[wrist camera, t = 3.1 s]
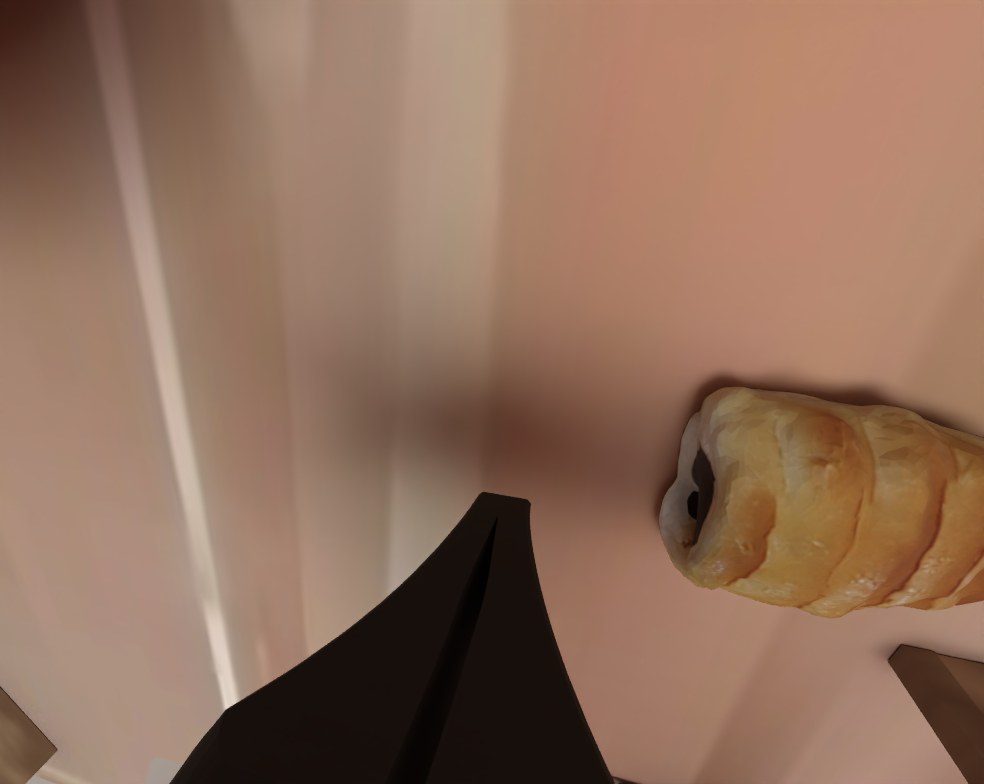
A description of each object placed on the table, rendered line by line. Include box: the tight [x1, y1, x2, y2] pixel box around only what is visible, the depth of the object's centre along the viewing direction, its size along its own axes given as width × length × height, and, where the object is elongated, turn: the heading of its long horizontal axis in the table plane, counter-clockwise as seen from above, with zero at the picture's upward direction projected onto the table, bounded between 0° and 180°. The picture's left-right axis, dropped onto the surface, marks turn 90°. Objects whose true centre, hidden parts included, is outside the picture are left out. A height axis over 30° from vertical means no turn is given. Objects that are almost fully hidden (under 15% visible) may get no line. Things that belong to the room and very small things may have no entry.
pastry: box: [659, 387, 984, 618], centre depth 11 cm, size 9×7×4 cm
